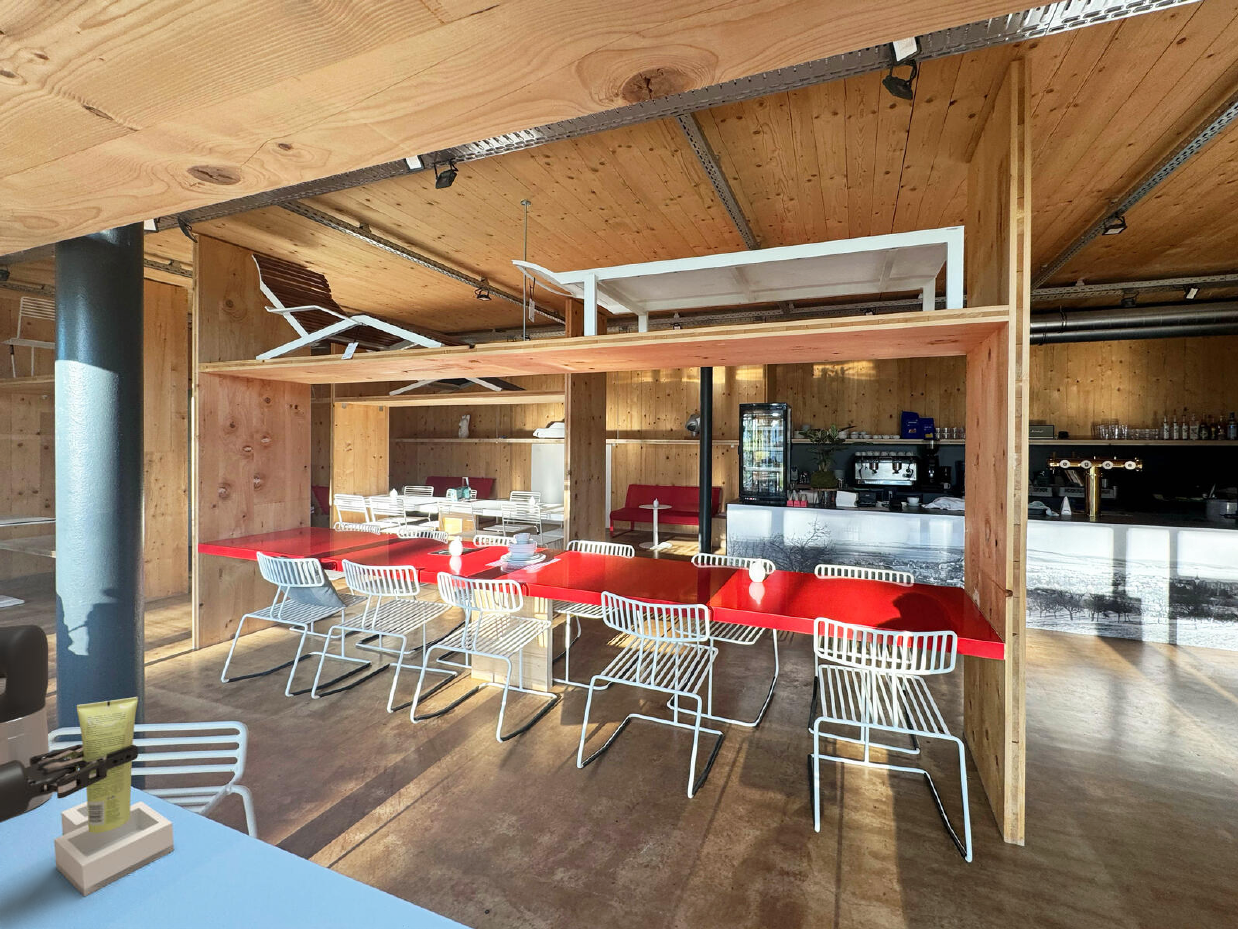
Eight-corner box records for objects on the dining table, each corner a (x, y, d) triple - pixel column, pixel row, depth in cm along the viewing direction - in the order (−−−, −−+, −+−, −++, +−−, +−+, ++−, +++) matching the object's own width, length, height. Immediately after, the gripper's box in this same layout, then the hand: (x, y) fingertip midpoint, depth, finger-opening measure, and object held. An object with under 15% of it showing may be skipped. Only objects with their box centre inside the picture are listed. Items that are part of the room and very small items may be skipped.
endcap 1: (62, 838, 98) (61, 812, 97) (115, 815, 103) (114, 790, 103) (78, 852, 94) (76, 825, 94) (131, 827, 100) (130, 801, 100)
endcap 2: (56, 867, 90) (54, 839, 90) (142, 827, 100) (140, 801, 100) (84, 896, 84) (82, 866, 84) (173, 850, 94) (172, 822, 93)
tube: (124, 809, 95) (120, 691, 95) (142, 817, 93) (138, 696, 93) (80, 830, 90) (76, 705, 90) (99, 838, 88) (94, 710, 88)
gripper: (-13, 789, 75) (147, 733, 90) (-41, 762, 83) (111, 714, 97) (-10, 847, 75) (150, 782, 90) (-38, 814, 83) (113, 759, 98)
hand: (129, 747), depth 94 cm, fingers closed on tube, 4 cm apart
